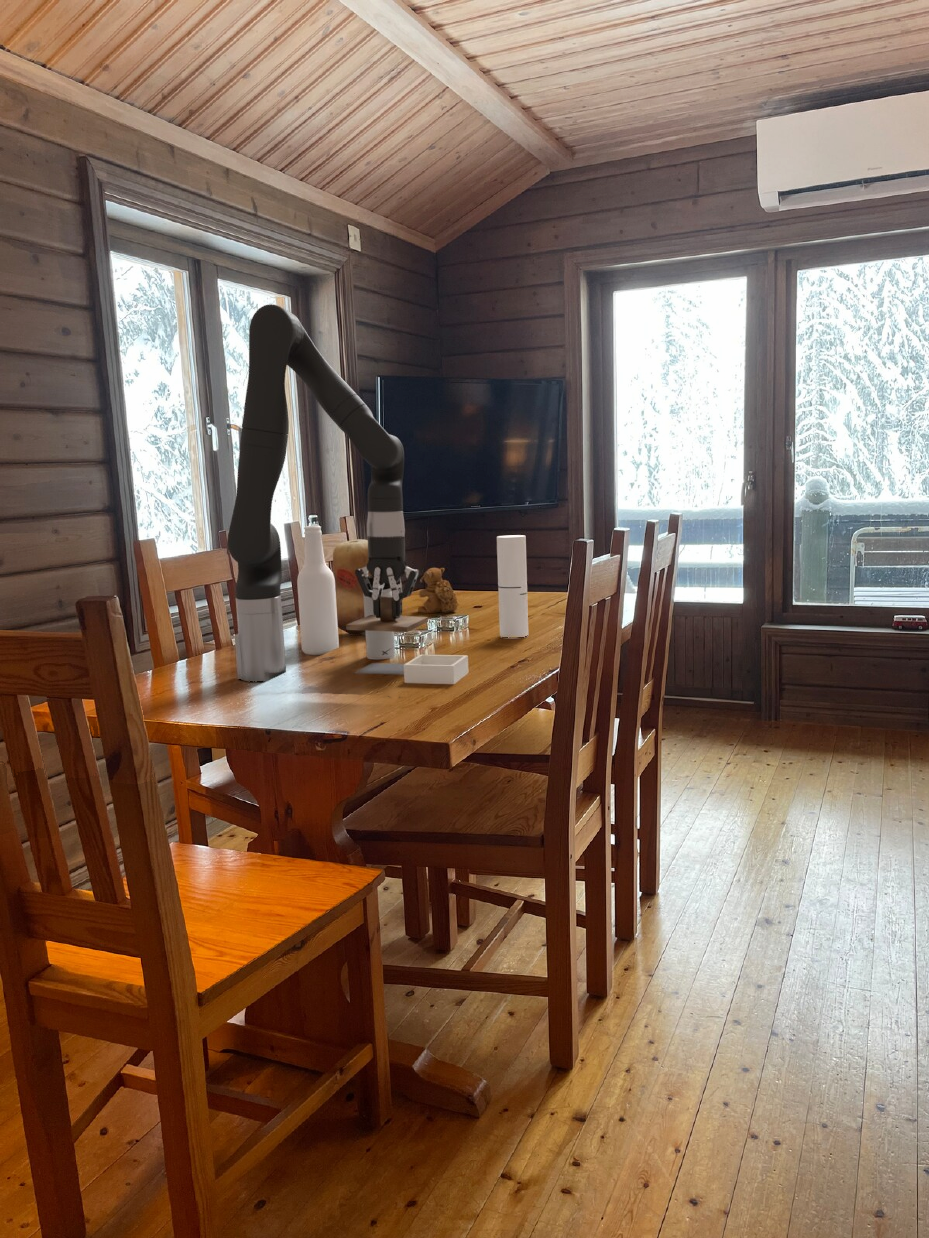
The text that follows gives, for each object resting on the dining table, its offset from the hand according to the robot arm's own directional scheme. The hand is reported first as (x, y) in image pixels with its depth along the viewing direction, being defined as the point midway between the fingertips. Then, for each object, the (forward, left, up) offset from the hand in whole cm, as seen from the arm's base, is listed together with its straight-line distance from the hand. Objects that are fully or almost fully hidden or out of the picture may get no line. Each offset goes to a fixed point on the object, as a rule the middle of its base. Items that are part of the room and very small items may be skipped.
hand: (388, 617), depth 190 cm
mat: (0, 0, -12) cm, 12 cm away
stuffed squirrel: (-16, +86, -13) cm, 88 cm away
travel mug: (-7, +12, -13) cm, 19 cm away
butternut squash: (-26, +45, -13) cm, 53 cm away
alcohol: (-27, +23, -13) cm, 37 cm away
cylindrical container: (+15, +47, -13) cm, 51 cm away
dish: (+12, -7, -12) cm, 19 cm away
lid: (0, 0, -2) cm, 2 cm away
